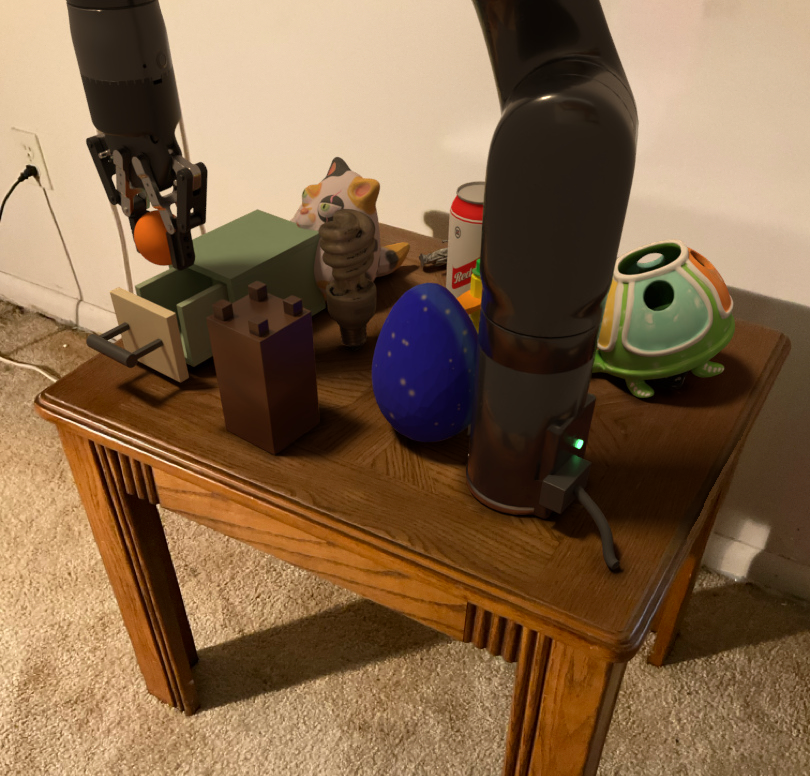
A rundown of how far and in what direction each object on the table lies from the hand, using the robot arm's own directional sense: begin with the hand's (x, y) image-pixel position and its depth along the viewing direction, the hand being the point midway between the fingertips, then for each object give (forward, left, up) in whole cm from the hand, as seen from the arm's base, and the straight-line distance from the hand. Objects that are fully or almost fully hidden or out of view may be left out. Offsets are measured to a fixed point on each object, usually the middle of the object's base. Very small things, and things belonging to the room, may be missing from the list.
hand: (166, 258), depth 80 cm
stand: (-16, +3, -11) cm, 20 cm away
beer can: (-22, -22, -11) cm, 33 cm away
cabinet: (0, -10, -11) cm, 15 cm away
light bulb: (-13, -12, -11) cm, 21 cm away
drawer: (0, +1, -10) cm, 10 cm away
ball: (0, 0, +2) cm, 2 cm away
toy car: (-42, -29, -11) cm, 53 cm away
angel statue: (-8, -36, -9) cm, 38 cm away
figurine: (-4, -24, -11) cm, 26 cm away
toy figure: (-25, -16, -11) cm, 32 cm away
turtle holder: (-41, -28, -10) cm, 51 cm away
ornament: (-28, -5, -11) cm, 30 cm away
